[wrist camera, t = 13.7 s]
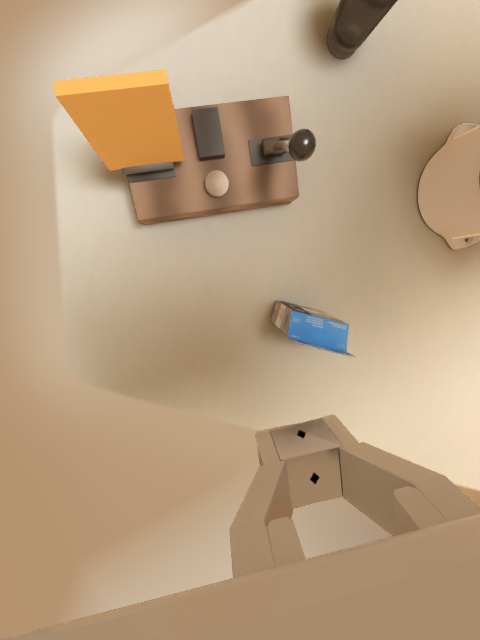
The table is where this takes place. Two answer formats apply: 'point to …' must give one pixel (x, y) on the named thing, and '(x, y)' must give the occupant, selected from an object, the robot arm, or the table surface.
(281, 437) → the robot arm
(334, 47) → the beverage cup
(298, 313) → the label tape box
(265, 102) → the control panel
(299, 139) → the steel toggle lever
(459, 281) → the table surface
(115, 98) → the orange paddle
